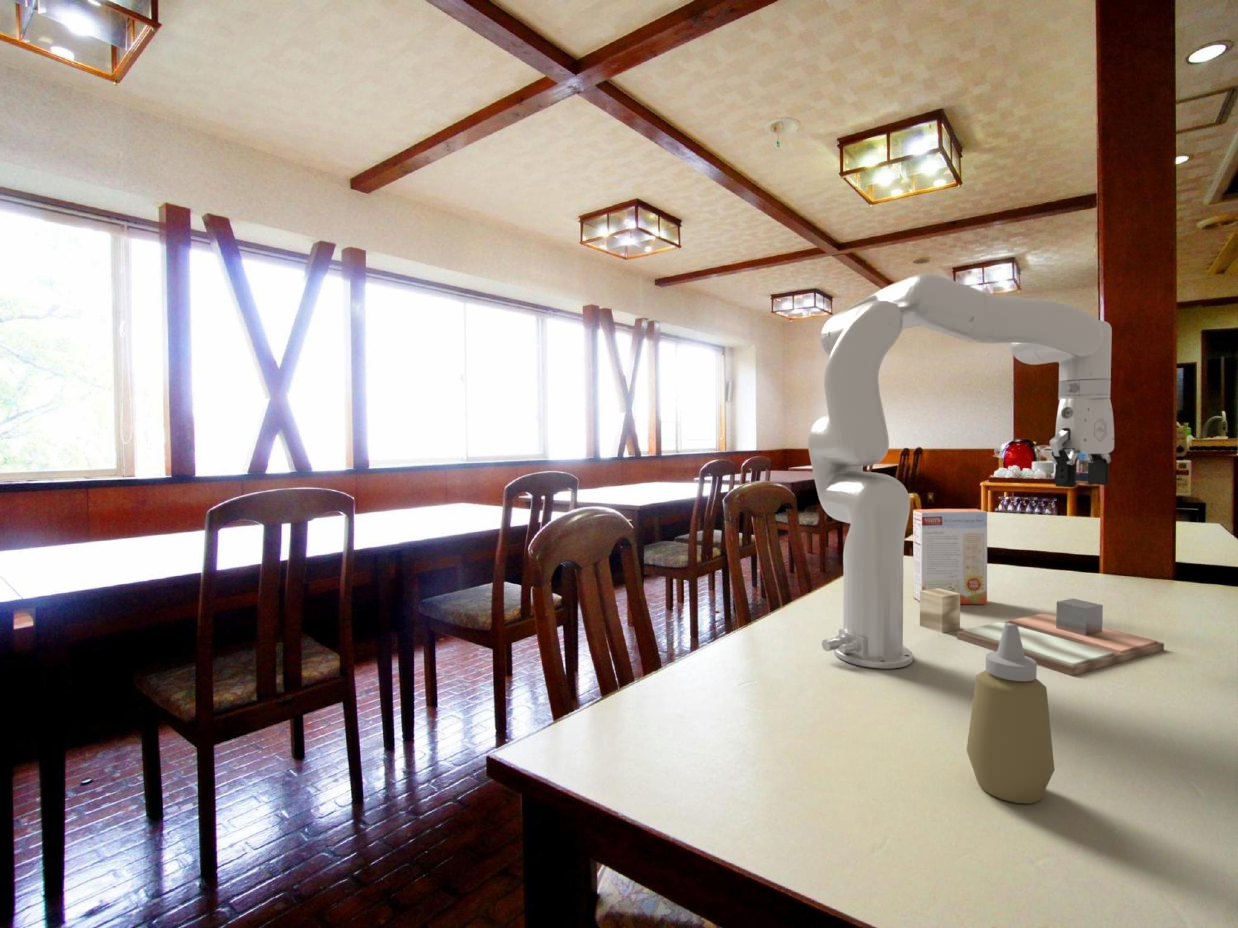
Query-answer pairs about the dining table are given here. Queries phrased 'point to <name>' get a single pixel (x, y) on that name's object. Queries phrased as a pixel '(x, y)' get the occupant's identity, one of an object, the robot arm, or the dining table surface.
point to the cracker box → (951, 552)
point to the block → (940, 610)
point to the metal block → (1079, 617)
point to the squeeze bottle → (1010, 725)
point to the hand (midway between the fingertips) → (1081, 485)
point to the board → (1064, 644)
